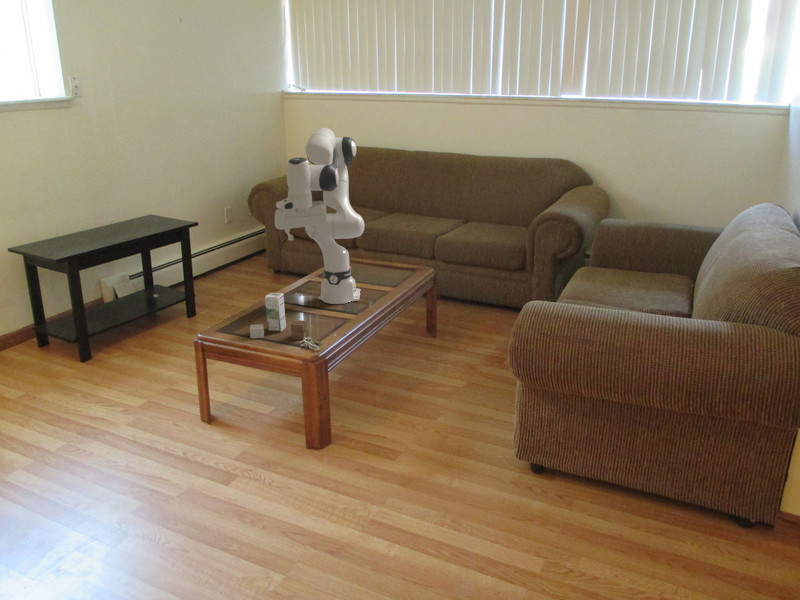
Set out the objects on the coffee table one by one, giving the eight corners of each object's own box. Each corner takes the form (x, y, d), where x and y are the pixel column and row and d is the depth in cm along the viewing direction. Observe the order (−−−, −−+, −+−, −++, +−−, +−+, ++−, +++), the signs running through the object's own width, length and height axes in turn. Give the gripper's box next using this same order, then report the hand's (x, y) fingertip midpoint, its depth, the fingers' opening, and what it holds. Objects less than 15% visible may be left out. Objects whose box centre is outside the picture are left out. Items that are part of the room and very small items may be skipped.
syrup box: (286, 327, 274) (283, 292, 270) (280, 332, 269) (278, 297, 264) (273, 326, 275) (270, 292, 271) (267, 331, 270) (264, 296, 266)
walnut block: (296, 334, 266) (295, 320, 264) (308, 335, 265) (307, 320, 263) (291, 339, 261) (290, 324, 260) (304, 339, 261) (303, 325, 259)
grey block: (251, 334, 268) (250, 324, 266) (264, 333, 268) (263, 323, 267) (250, 339, 263) (249, 329, 262) (263, 338, 264) (263, 328, 262)
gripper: (322, 198, 264) (324, 234, 268) (271, 203, 254) (274, 240, 258) (329, 200, 258) (331, 236, 262) (277, 205, 249) (280, 243, 253)
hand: (302, 238), depth 260 cm, fingers open, 8 cm apart
